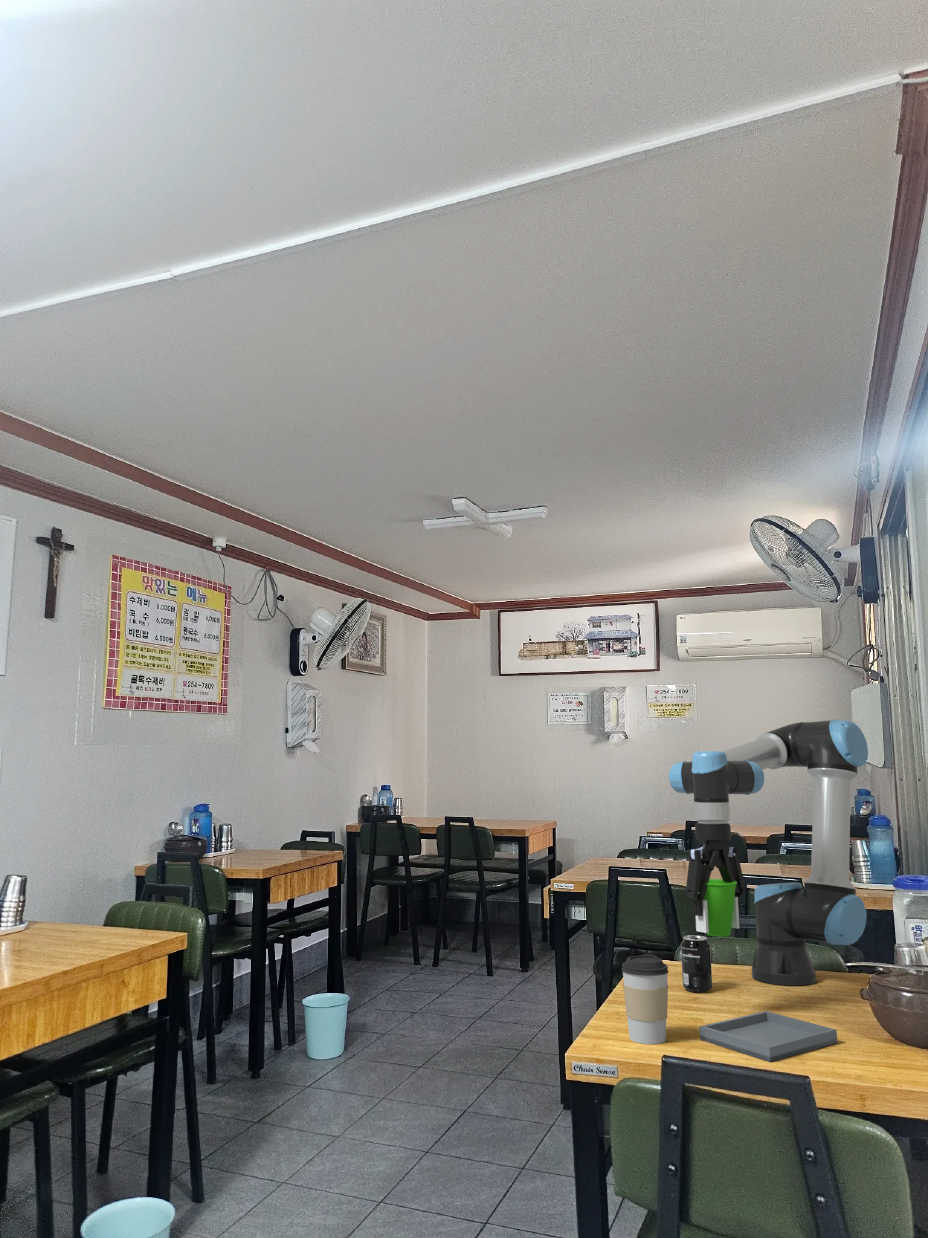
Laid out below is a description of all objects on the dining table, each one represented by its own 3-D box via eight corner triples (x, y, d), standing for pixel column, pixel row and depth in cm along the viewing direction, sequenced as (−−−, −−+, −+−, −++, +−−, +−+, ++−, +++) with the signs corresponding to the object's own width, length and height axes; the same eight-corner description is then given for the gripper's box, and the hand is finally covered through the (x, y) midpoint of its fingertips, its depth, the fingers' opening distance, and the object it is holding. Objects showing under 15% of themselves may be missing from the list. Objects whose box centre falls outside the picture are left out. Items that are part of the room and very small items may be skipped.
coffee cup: (662, 1049, 159) (658, 963, 162) (616, 1041, 164) (613, 958, 166) (677, 1037, 166) (674, 955, 169) (633, 1030, 171) (630, 950, 174)
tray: (766, 1023, 175) (765, 1011, 176) (837, 1043, 162) (836, 1029, 163) (699, 1039, 164) (699, 1026, 165) (770, 1062, 151) (769, 1047, 152)
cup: (742, 939, 178) (739, 884, 180) (697, 937, 180) (694, 883, 182) (738, 931, 187) (735, 879, 189) (695, 930, 189) (692, 878, 191)
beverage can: (701, 986, 207) (699, 934, 209) (718, 993, 201) (715, 939, 203) (677, 988, 205) (674, 936, 207) (693, 995, 199) (690, 941, 201)
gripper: (731, 820, 197) (737, 922, 193) (664, 822, 185) (669, 932, 181) (758, 821, 191) (765, 927, 186) (691, 824, 179) (696, 937, 175)
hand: (718, 929), depth 184 cm, fingers closed on cup, 9 cm apart
